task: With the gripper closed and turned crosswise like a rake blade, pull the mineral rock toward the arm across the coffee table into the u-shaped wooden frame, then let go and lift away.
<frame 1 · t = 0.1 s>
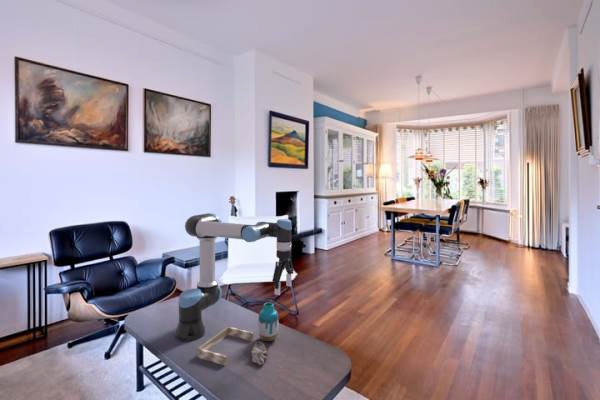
hand: (283, 290, 155), 28 cm above the table, tool pointing down, fingers open, 13 cm apart
vase: (268, 339, 159), on the table
mineral rock: (259, 358, 143), on the table
u-shaped wooden frame: (226, 348, 150), on the table
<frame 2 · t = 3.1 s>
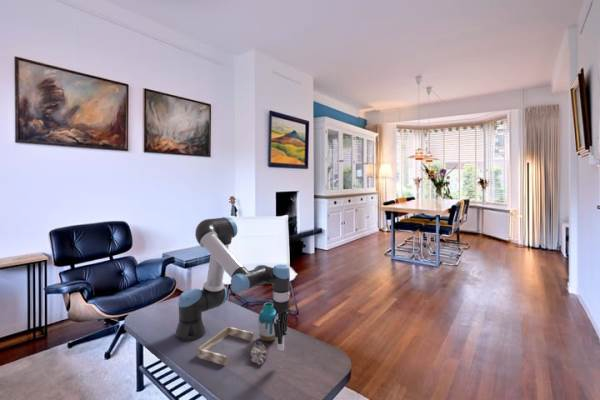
hand: (281, 349, 138), 7 cm above the table, tool pointing down, fingers closed
nothing on the table moved.
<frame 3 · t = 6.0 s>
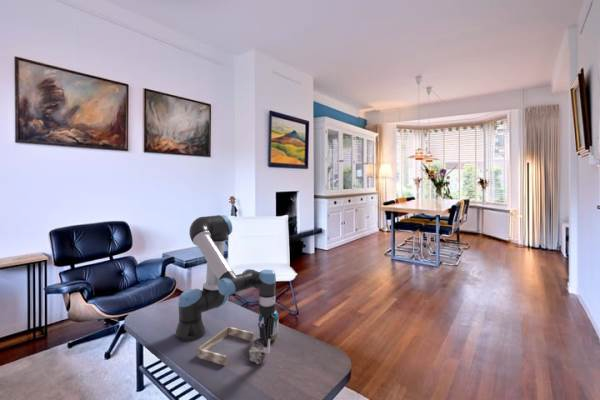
hand: (266, 352, 142), 3 cm above the table, tool pointing down, fingers closed
mineral rock: (257, 357, 144), on the table, touching gripper
everything else where it was.
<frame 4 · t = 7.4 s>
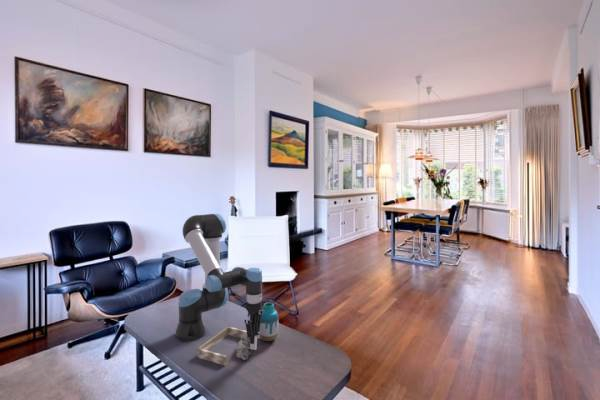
hand: (253, 348, 144), 3 cm above the table, tool pointing down, fingers closed
mineral rock: (244, 353, 146), on the table, touching gripper
everything else where it was.
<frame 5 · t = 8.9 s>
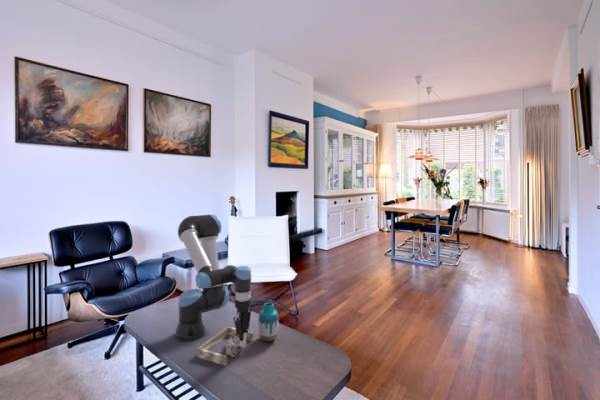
hand: (242, 345, 147), 3 cm above the table, tool pointing down, fingers closed
mineral rock: (233, 351, 149), on the table
everything else where it was.
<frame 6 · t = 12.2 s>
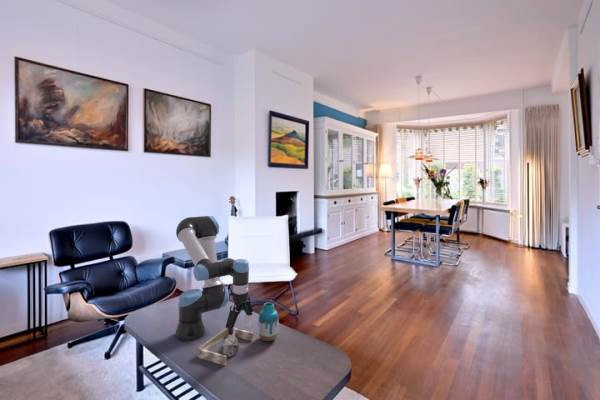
hand: (239, 333, 147), 9 cm above the table, tool pointing down, fingers open, 13 cm apart
mineral rock: (230, 350, 149), on the table
everything else where it was.
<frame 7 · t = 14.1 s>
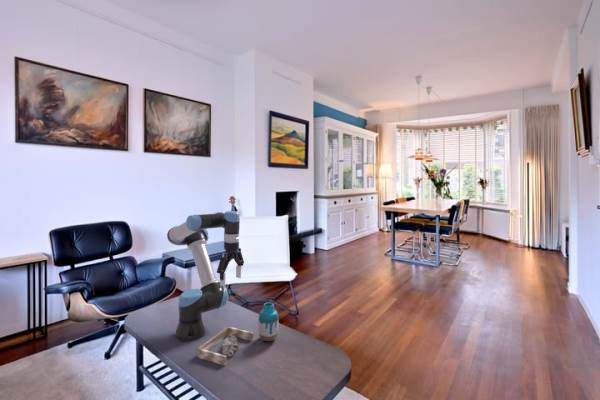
hand: (230, 281, 156), 32 cm above the table, tool pointing down, fingers open, 13 cm apart
nothing on the table moved.
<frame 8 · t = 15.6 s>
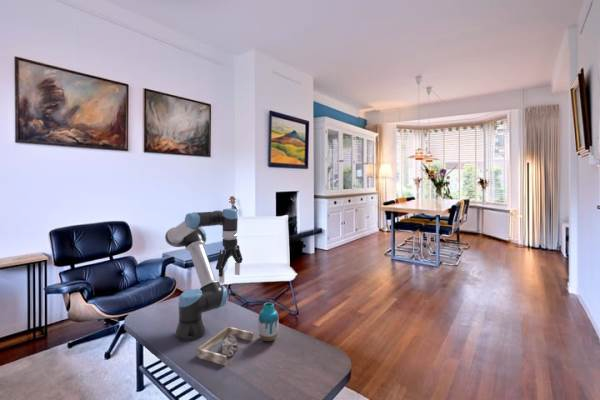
hand: (229, 278, 157), 33 cm above the table, tool pointing down, fingers open, 13 cm apart
nothing on the table moved.
at the end: mineral rock inside the target area on the u-shaped wooden frame (0.8 cm from its centre), point 0.0 cm above the u-shaped wooden frame's base; mineral rock moved 16.8 cm from its start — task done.
